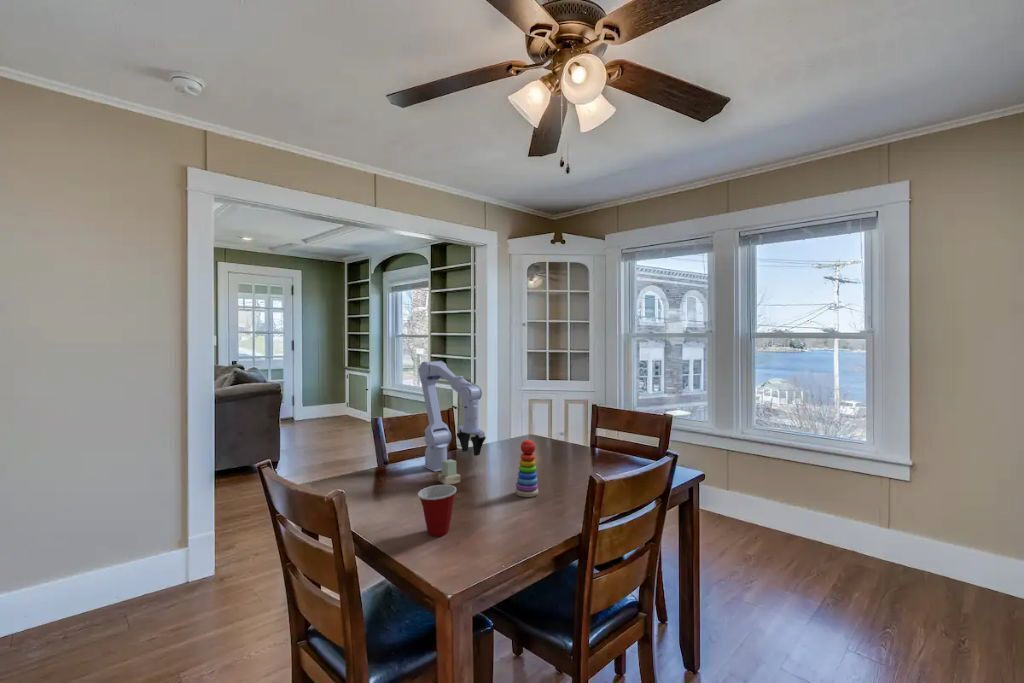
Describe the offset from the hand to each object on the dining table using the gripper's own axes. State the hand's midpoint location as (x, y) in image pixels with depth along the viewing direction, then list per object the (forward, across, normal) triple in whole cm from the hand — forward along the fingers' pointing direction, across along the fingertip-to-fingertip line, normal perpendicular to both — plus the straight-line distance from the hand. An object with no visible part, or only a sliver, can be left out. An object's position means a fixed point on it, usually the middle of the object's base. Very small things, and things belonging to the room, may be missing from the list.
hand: (470, 453), depth 177 cm
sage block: (+7, -3, -8) cm, 11 cm away
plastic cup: (+10, +32, -35) cm, 48 cm away
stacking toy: (+10, +26, +5) cm, 28 cm away
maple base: (+10, -3, -8) cm, 13 cm away
